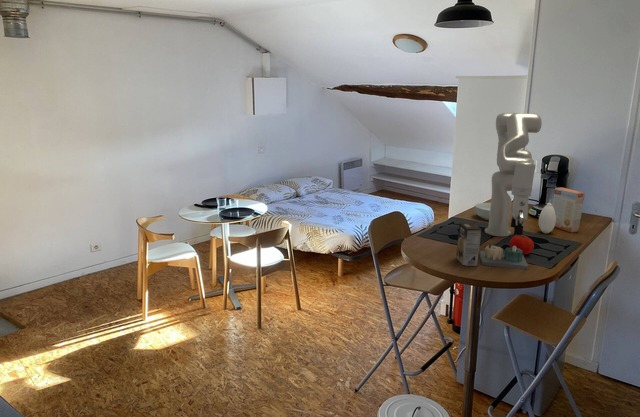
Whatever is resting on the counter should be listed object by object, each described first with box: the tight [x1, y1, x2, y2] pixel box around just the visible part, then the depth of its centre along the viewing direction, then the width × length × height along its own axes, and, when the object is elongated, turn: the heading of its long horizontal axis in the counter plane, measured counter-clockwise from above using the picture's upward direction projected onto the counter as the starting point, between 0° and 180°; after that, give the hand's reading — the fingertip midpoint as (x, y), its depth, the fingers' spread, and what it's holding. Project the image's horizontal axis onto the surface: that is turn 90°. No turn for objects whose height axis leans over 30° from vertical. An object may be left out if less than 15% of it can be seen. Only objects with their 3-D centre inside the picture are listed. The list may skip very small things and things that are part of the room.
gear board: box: [479, 243, 529, 270], centre depth 212 cm, size 14×18×7 cm
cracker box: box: [552, 186, 585, 233], centre depth 259 cm, size 14×6×21 cm, turn 22°
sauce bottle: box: [538, 198, 556, 234], centre depth 252 cm, size 8×8×18 cm
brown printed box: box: [455, 222, 482, 267], centre depth 209 cm, size 9×6×16 cm
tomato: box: [509, 234, 535, 256], centre depth 222 cm, size 9×10×8 cm
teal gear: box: [503, 247, 524, 262], centre depth 211 cm, size 7×7×4 cm
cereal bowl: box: [474, 202, 491, 221], centre depth 277 cm, size 17×17×7 cm
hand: (516, 230), depth 209 cm, fingers open, 9 cm apart
